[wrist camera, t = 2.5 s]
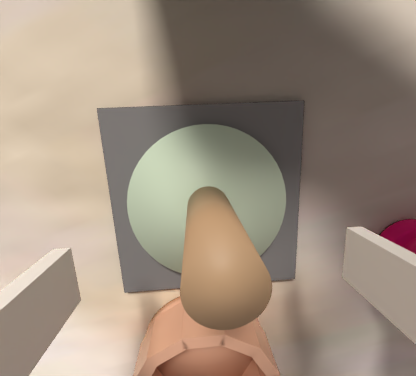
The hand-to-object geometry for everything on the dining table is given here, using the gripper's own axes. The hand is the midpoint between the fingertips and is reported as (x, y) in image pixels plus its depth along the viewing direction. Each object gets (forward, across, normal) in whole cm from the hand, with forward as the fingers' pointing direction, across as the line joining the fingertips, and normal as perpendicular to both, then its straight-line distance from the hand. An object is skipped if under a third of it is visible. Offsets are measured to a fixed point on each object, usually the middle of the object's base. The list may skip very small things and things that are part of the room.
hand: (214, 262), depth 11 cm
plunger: (+8, 0, 0) cm, 9 cm away
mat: (+9, 0, 0) cm, 9 cm away
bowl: (+9, -1, -15) cm, 17 cm away
